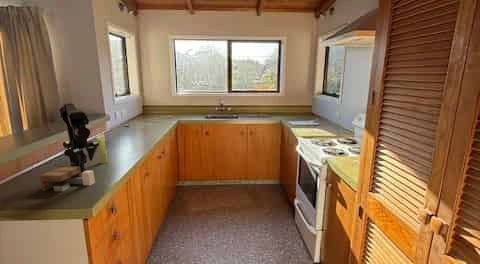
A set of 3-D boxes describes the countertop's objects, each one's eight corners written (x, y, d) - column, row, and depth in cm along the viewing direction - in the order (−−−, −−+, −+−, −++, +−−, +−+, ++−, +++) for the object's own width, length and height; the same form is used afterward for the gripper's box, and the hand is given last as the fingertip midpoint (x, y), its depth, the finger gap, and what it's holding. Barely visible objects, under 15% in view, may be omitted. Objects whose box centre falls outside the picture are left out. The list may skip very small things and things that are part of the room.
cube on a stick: (69, 181, 149) (67, 169, 148) (95, 182, 147) (93, 170, 145) (63, 184, 145) (61, 172, 144) (90, 185, 143) (88, 173, 141)
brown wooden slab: (63, 180, 151) (60, 166, 149) (82, 180, 150) (79, 166, 148) (42, 190, 138) (39, 175, 136) (62, 191, 136) (59, 176, 134)
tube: (107, 163, 178) (103, 135, 174) (99, 164, 176) (94, 136, 172) (108, 160, 183) (104, 133, 179) (99, 161, 181) (95, 134, 177)
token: (61, 187, 142) (60, 182, 142) (70, 187, 142) (69, 182, 141) (54, 191, 137) (53, 186, 137) (63, 191, 137) (62, 186, 136)
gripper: (79, 131, 149) (84, 157, 153) (51, 139, 131) (57, 169, 135) (97, 131, 147) (101, 157, 151) (71, 139, 129) (77, 169, 133)
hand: (84, 163), depth 142 cm, fingers open, 9 cm apart
